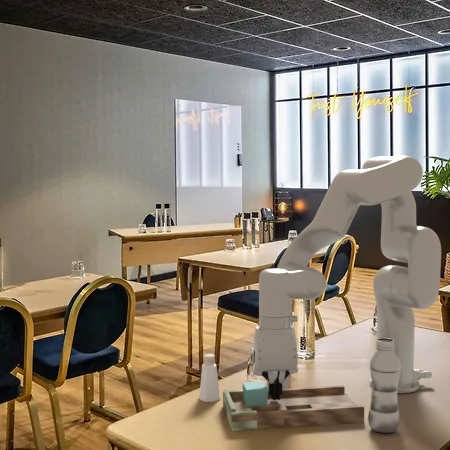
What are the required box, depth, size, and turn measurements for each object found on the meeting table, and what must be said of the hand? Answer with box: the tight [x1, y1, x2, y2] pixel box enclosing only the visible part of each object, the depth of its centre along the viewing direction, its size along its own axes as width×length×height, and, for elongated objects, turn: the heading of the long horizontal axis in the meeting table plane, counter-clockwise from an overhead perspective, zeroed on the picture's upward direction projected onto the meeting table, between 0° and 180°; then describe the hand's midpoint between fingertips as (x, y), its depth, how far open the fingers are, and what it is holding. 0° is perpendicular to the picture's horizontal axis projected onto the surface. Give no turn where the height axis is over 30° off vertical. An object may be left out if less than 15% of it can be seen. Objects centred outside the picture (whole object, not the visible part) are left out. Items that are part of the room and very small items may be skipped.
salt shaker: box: [198, 353, 221, 403], centre depth 151 cm, size 5×5×11 cm
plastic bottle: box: [367, 338, 401, 434], centre depth 131 cm, size 6×7×20 cm
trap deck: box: [222, 384, 365, 432], centre depth 141 cm, size 30×14×4 cm, turn 98°
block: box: [242, 381, 268, 407], centre depth 143 cm, size 5×5×4 cm
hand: (275, 397), depth 143 cm, fingers closed
